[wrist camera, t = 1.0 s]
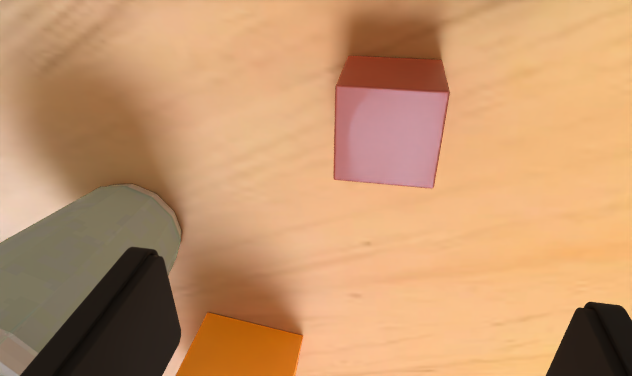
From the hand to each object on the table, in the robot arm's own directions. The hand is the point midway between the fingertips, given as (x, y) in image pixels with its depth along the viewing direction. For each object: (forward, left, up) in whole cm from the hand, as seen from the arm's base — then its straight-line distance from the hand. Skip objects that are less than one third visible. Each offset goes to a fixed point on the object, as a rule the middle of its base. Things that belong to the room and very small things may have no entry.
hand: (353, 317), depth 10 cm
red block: (0, 0, -14) cm, 14 cm away
